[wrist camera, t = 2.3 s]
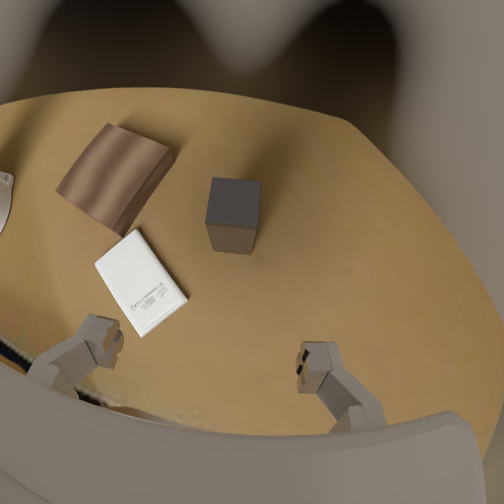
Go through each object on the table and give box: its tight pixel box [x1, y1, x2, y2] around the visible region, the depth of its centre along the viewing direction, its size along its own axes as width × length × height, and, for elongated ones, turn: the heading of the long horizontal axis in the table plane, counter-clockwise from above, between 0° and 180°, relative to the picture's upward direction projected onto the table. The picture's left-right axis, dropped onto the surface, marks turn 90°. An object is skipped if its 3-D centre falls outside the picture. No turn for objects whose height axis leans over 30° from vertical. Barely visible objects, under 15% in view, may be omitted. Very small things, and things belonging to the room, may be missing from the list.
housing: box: [205, 177, 261, 255], centre depth 32 cm, size 5×5×11 cm
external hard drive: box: [95, 229, 188, 337], centre depth 34 cm, size 2×8×12 cm
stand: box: [55, 123, 175, 237], centre depth 36 cm, size 14×14×4 cm
